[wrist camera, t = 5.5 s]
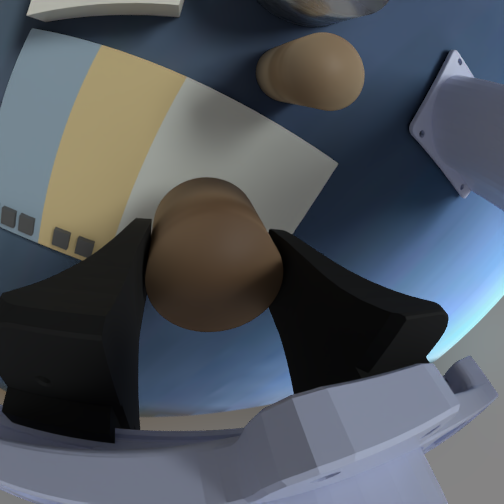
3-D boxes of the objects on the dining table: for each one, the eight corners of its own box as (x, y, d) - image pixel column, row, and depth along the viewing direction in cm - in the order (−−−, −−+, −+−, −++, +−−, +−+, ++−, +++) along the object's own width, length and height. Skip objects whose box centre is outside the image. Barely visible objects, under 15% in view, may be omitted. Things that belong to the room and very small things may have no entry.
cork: (324, 68, 12) (376, 66, 8) (295, 112, 13) (339, 126, 9) (275, 35, 11) (315, 17, 7) (244, 82, 12) (272, 80, 8)
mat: (335, 161, 15) (341, 165, 14) (239, 306, 19) (241, 313, 18) (35, 29, 7) (29, 27, 6) (-15, 215, 11) (-20, 221, 10)
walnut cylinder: (273, 203, 12) (309, 252, 9) (226, 280, 14) (242, 341, 11) (179, 159, 11) (178, 196, 7) (139, 250, 12) (129, 313, 9)
